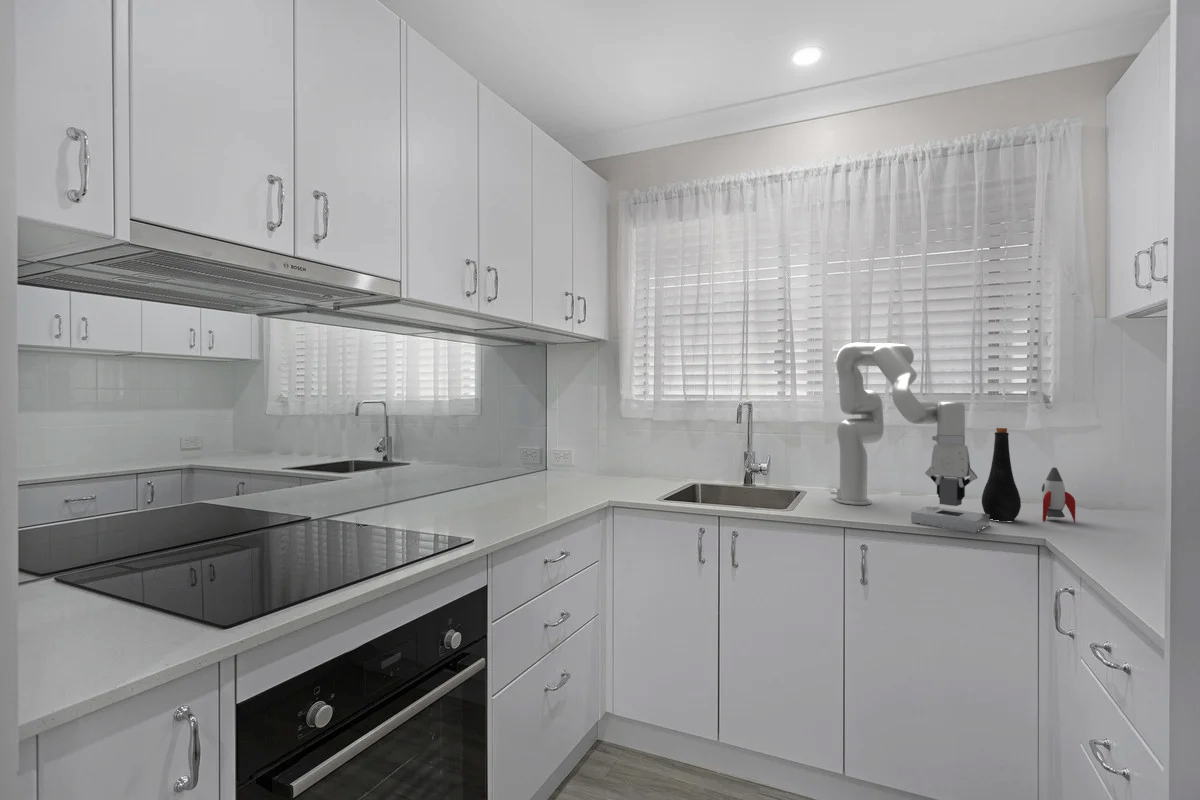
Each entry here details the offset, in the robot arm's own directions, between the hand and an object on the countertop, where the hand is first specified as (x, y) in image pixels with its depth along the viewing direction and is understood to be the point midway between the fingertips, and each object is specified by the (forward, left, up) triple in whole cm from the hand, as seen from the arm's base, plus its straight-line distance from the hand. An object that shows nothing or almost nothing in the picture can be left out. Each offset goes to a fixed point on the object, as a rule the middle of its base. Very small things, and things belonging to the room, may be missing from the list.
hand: (950, 497), depth 186 cm
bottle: (+9, +19, -9) cm, 23 cm away
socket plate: (0, 0, -8) cm, 8 cm away
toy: (+22, +30, -9) cm, 38 cm away
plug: (0, +1, -2) cm, 2 cm away
